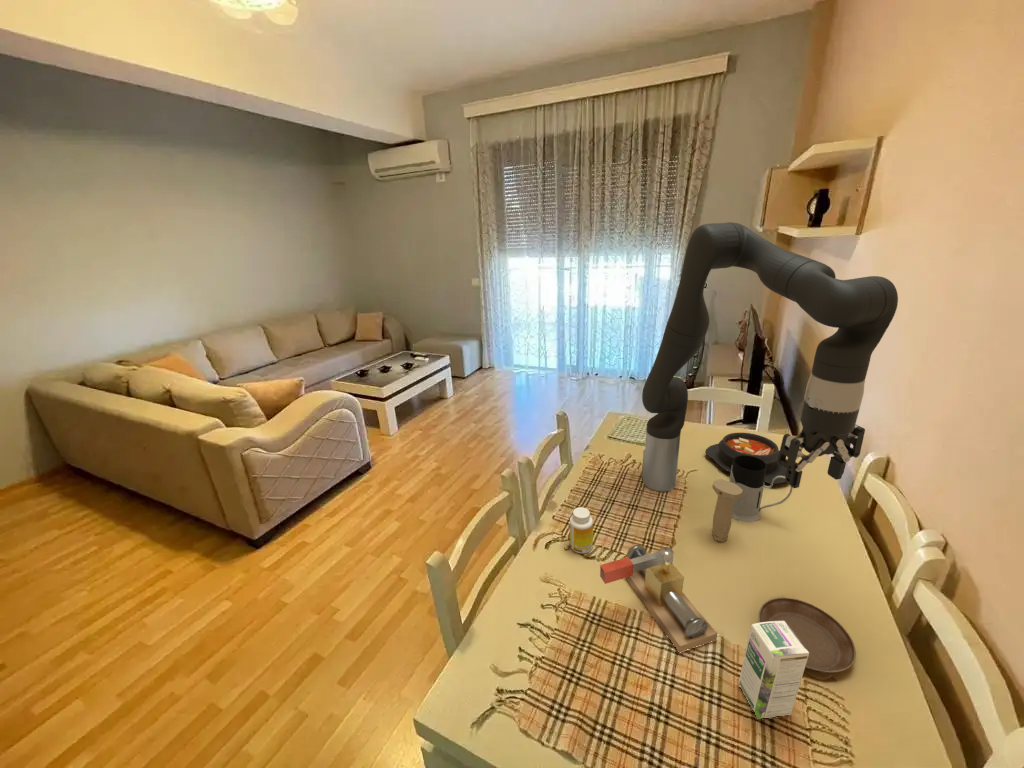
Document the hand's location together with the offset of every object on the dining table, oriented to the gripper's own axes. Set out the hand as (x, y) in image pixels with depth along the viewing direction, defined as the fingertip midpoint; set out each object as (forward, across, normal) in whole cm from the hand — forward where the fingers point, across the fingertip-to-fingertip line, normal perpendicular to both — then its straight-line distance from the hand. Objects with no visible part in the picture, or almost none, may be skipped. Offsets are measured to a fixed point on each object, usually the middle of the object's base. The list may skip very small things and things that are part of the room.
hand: (812, 481), depth 76 cm
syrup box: (+28, +19, +17) cm, 38 cm away
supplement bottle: (+28, +36, -24) cm, 52 cm away
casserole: (+31, -24, -44) cm, 59 cm away
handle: (+29, +2, -18) cm, 35 cm away
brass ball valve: (+27, +25, -5) cm, 37 cm away
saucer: (+29, +5, +9) cm, 31 cm away
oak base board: (+28, +25, -5) cm, 38 cm away
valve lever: (+17, +31, -4) cm, 36 cm away
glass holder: (+30, -11, -24) cm, 40 cm away
